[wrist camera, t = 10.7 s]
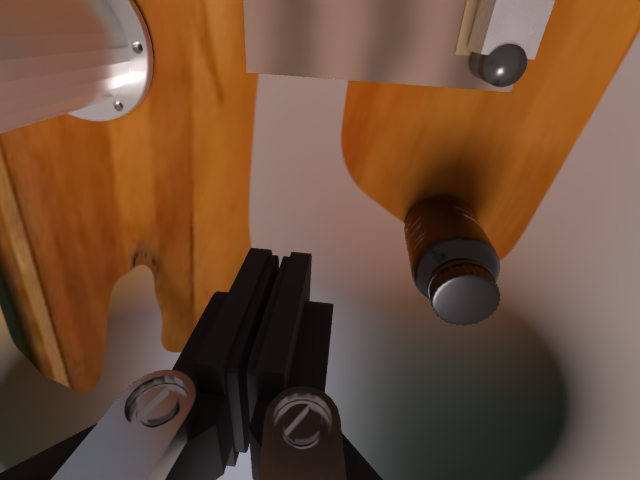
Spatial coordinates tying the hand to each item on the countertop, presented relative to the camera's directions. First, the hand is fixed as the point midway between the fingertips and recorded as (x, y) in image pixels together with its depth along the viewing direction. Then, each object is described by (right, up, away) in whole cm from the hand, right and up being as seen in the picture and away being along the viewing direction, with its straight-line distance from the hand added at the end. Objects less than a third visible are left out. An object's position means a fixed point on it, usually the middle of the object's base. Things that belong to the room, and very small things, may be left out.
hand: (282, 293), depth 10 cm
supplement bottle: (+13, +3, +26) cm, 29 cm away
